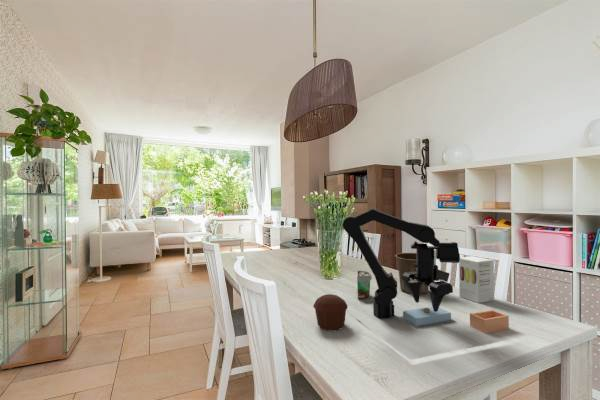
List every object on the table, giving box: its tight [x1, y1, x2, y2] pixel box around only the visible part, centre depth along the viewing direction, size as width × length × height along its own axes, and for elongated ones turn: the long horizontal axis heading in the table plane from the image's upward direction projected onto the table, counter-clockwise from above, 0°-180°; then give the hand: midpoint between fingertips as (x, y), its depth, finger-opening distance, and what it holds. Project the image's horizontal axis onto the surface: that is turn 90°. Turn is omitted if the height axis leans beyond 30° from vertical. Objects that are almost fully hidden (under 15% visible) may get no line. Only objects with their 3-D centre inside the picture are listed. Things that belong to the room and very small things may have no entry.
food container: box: [356, 270, 373, 300], centre depth 133 cm, size 12×6×10 cm, turn 168°
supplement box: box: [458, 255, 495, 304], centre depth 127 cm, size 10×9×17 cm
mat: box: [398, 315, 457, 329], centre depth 104 cm, size 16×10×1 cm, turn 107°
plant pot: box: [394, 252, 430, 295], centre depth 139 cm, size 16×16×16 cm
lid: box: [402, 306, 452, 326], centre depth 104 cm, size 14×7×4 cm, turn 107°
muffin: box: [313, 293, 348, 331], centre depth 103 cm, size 12×11×10 cm
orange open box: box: [469, 309, 510, 334], centre depth 97 cm, size 10×6×5 cm, turn 107°
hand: (426, 306), depth 104 cm, fingers open, 9 cm apart
